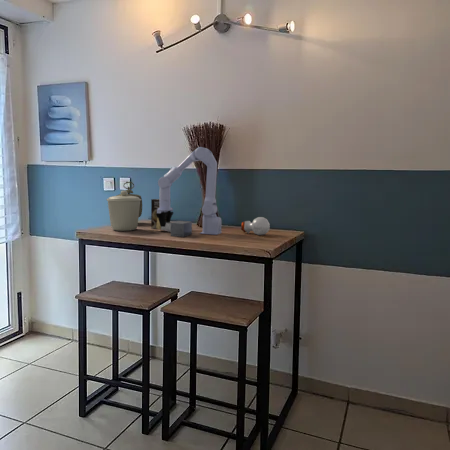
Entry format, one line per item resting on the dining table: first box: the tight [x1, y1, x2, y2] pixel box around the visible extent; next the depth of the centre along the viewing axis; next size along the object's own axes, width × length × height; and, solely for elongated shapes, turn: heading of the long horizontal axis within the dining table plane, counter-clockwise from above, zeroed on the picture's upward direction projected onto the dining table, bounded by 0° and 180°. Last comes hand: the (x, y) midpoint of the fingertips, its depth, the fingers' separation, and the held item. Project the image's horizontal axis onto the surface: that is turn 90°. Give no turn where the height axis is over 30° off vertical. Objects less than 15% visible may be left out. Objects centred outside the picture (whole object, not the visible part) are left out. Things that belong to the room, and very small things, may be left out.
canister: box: [106, 190, 141, 232], centre depth 226 cm, size 18×18×21 cm
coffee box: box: [150, 198, 172, 229], centre depth 236 cm, size 9×6×16 cm
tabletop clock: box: [115, 181, 143, 218], centre depth 253 cm, size 14×9×25 cm, turn 130°
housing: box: [170, 220, 193, 238], centre depth 211 cm, size 7×10×6 cm
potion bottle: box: [240, 216, 271, 236], centre depth 219 cm, size 9×10×15 cm
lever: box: [155, 217, 173, 233], centre depth 223 cm, size 11×5×6 cm, turn 65°
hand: (164, 225), depth 224 cm, fingers closed on lever, 5 cm apart
